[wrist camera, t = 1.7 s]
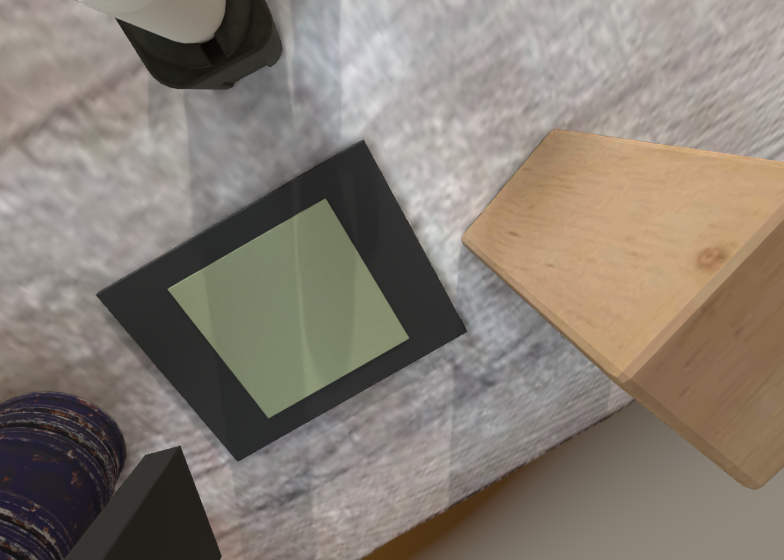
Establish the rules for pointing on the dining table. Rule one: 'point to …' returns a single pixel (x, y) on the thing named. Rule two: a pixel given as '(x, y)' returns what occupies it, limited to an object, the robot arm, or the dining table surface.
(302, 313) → the mat
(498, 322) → the dining table surface
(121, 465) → the dark oil barrel
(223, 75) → the candle
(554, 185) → the wooden block
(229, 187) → the dining table surface
